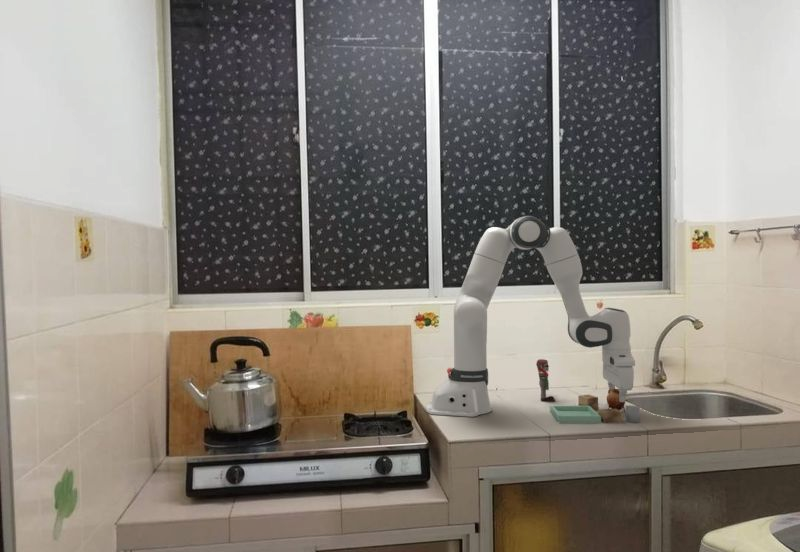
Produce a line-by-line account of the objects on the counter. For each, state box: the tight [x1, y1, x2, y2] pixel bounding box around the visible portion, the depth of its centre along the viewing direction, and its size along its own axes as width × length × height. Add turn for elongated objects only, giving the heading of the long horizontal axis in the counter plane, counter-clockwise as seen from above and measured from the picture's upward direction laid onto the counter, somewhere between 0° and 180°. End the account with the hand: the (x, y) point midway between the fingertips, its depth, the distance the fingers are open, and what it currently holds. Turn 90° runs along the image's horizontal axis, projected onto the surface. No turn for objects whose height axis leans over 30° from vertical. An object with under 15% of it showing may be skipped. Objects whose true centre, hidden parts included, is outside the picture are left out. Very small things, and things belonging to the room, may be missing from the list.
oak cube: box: [577, 394, 599, 412], centre depth 185 cm, size 4×4×4 cm
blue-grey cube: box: [625, 405, 641, 424], centre depth 170 cm, size 4×4×4 cm
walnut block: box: [597, 408, 623, 424], centre depth 171 cm, size 6×4×4 cm, turn 96°
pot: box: [606, 388, 627, 413], centre depth 180 cm, size 6×8×6 cm
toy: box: [536, 358, 556, 403], centre depth 198 cm, size 18×6×15 cm, turn 168°
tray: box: [549, 404, 602, 424], centre depth 176 cm, size 13×13×2 cm
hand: (617, 398), depth 180 cm, fingers open, 8 cm apart
